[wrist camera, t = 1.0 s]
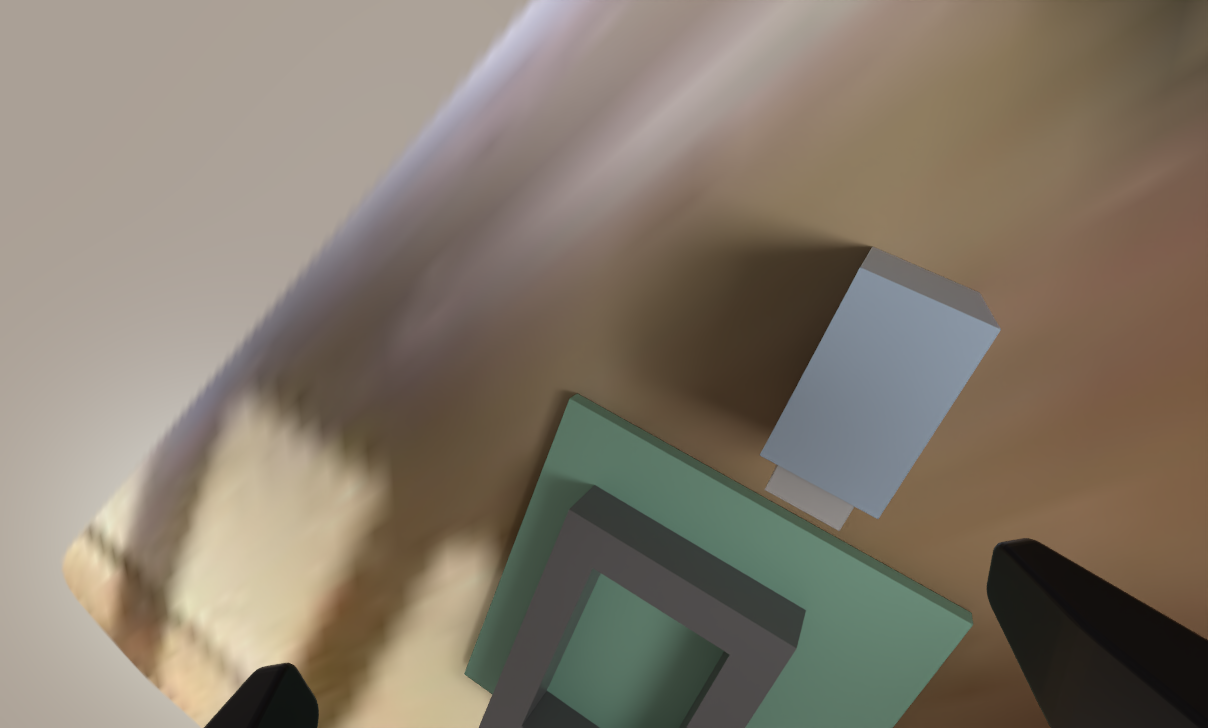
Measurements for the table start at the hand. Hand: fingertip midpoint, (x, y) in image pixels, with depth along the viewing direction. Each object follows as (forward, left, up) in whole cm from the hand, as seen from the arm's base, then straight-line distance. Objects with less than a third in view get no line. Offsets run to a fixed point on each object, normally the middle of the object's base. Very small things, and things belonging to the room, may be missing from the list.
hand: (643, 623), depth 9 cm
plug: (-2, -2, -13) cm, 14 cm away
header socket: (0, +12, -13) cm, 18 cm away
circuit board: (-1, +11, -13) cm, 18 cm away
